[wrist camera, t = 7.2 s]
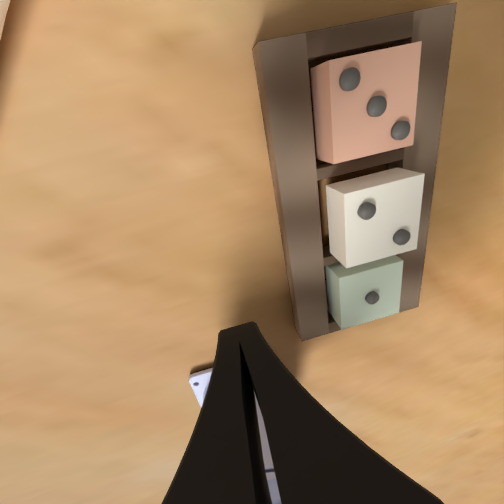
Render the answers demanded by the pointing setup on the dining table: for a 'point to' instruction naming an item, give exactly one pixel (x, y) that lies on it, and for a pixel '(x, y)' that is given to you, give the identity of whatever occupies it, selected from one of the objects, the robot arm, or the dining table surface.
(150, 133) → the dining table surface
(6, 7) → the banana
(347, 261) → the tile two
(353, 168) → the dice tray
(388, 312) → the tile one
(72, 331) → the dining table surface
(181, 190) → the dining table surface
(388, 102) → the tile three
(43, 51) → the dining table surface
